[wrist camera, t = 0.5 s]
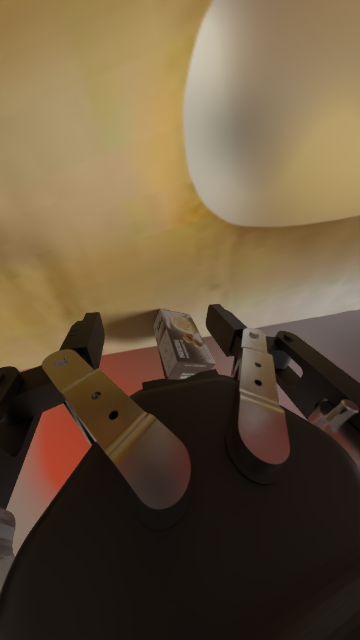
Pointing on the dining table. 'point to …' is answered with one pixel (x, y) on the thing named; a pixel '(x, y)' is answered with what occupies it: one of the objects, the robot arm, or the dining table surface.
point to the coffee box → (180, 345)
